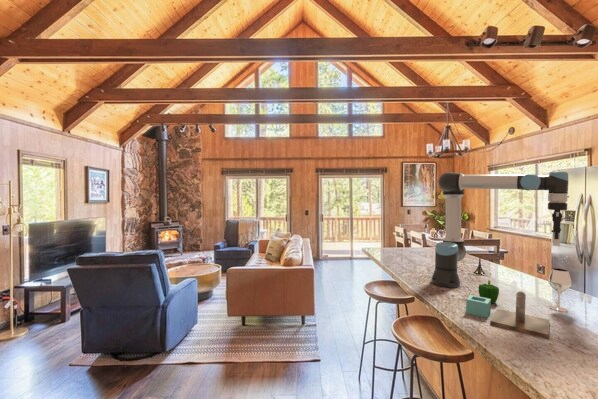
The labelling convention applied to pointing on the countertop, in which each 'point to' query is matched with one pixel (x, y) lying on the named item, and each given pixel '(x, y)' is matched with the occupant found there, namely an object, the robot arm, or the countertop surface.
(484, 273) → the eiffel tower figurine
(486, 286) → the bell pepper
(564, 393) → the countertop surface
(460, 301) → the countertop surface
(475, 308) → the bead
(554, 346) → the countertop surface
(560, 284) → the wineglass
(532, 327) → the post board
